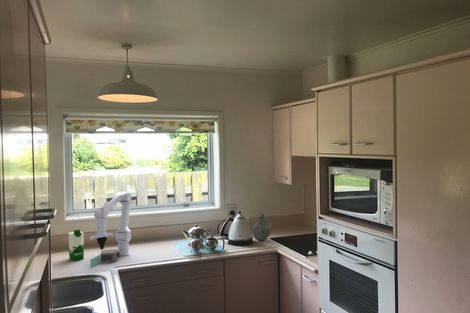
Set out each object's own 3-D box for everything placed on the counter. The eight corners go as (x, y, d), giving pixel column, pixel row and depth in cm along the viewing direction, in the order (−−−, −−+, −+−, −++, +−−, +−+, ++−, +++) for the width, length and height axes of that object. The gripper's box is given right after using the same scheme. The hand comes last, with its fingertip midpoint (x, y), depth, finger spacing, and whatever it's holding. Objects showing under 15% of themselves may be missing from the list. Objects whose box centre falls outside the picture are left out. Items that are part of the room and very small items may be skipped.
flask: (249, 239, 304) (249, 212, 303) (269, 238, 309) (269, 211, 308) (254, 243, 293) (254, 215, 292) (274, 241, 297) (274, 214, 297)
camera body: (102, 258, 254) (102, 250, 254) (120, 257, 256) (120, 249, 256) (100, 262, 246) (100, 253, 246) (118, 261, 248) (118, 252, 248)
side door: (100, 262, 246) (100, 254, 246) (91, 267, 237) (91, 258, 237) (99, 262, 246) (99, 254, 246) (90, 266, 237) (90, 258, 237)
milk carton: (72, 262, 247) (71, 231, 247) (67, 258, 254) (66, 229, 253) (85, 259, 253) (85, 229, 252) (80, 256, 260) (80, 227, 259)
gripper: (109, 225, 249) (110, 245, 250) (87, 228, 239) (88, 249, 240) (114, 227, 244) (114, 247, 244) (91, 230, 234) (92, 252, 235)
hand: (101, 249), depth 242 cm, fingers closed
